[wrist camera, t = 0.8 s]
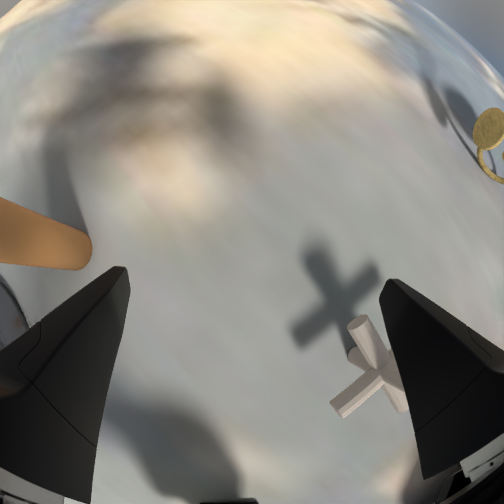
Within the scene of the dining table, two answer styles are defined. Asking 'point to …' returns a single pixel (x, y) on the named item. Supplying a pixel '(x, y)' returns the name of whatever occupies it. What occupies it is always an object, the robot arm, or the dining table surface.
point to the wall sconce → (489, 136)
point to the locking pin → (40, 240)
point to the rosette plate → (10, 318)
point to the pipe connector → (370, 370)
